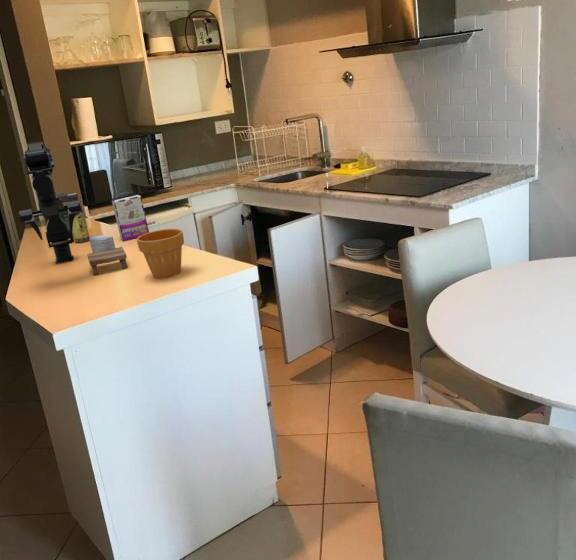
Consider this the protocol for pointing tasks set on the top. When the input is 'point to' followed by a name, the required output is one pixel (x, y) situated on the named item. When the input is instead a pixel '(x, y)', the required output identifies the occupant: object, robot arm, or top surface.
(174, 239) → the flower pot
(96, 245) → the medicine box
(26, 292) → the top surface
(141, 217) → the candy bar box
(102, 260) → the small brown stool
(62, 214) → the coffee jar
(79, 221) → the sauce bottle
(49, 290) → the top surface
